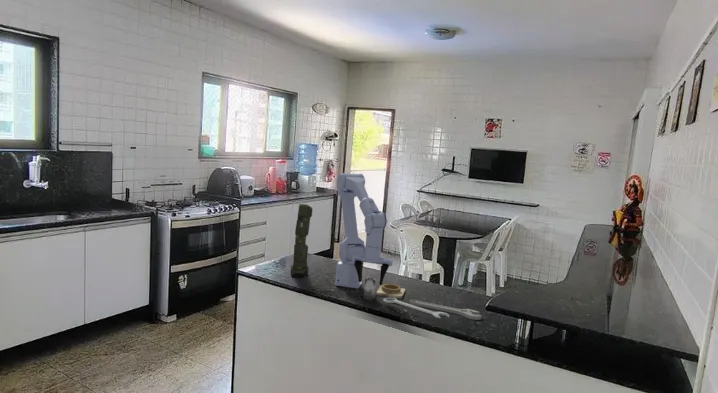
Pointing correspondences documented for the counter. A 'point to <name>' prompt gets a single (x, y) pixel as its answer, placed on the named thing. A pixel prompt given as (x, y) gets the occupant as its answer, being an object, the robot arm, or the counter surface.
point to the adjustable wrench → (449, 309)
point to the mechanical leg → (301, 242)
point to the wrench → (416, 308)
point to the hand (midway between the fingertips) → (370, 282)
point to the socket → (390, 291)
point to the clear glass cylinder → (369, 288)
